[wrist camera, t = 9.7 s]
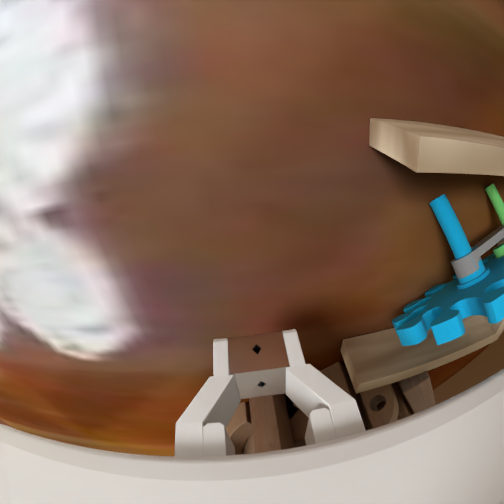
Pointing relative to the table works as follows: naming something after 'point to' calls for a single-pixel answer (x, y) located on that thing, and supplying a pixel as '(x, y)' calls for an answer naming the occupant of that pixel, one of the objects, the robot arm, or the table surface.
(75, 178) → the table surface
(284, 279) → the table surface
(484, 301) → the gear
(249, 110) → the table surface
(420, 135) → the drawer
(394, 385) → the wooden puzzle
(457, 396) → the robot arm
